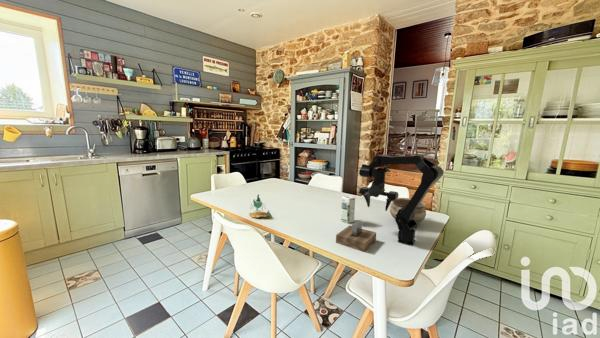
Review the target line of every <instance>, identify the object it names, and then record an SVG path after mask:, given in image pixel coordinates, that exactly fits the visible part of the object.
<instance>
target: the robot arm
mask: <svg viewBox="0 0 600 338" xmlns="http://www.w3.org/2000/svg"><path fill="white" fill-rule="evenodd" d="M413 164H414V165H415V166H416V167H417V169H418V170H419V172H421V173H422V176H421V177H420V178H421V180H420V183H419V185H418V187H417V189H416V190H415V191H414V193H413V195H412V196H411V198H410V199H411V200H410V201H409V203H408V205H407V206H406V207H403V208H401V209H399V211H398V213H397V214H396V215H395V216H396V218H394V221H395V223H396V224H397V228H398V232H397V233H398V234H397V239H398V240H397V242H398V243H401V244H403V245H404V244H405V245H408V246H413V245H414V244H415V242H416V239H415V237H416V229H417V228H418V223H416V222H415V220H414V216H415V211H416V209H417V208H418V206H419V205H420V203H421V201H422V202H423V200H424V198H425V197H426V195H427V194H428V192H429V191H430V189H431V188H432V187H433V186H434V185H435V184H436V183H437V182H438V181H439V180H441V178H442V177H443V176H444V173H445V172H444V169H443V168H442V167H441V166H439V165H436V164H435V163H434V162H432V161H430V160H429V159H427V157H425V156H424V155H422V154H416V155H399V156H397V155H395V156H393V155H389V154H377V155H374V157H372V160H371V162H370V163H369V164H366V163H363V164H362V165H361V167H360V168H359V170H358V174H359V176H360V177H362V178H368V179H372V182H371V186H369V187H368V186H367V187H366V186H362V187H360V188H359V190H358V193H359V194H361V196H362V197H364V199H365V203H366V205H367V208H370V206H371V197H374V198H378V197H379V196H383V197H386V198H385V201H386V204H385V212H387V211H388V209H389V208H390V206H391V204H392V201H393V200H396V199H397V198H399V192H397V191H393V190H390V191H388V192H386V189H385V186H386V185H385V184H386V173H388V172H390V171H391V170H390V168H389V167H387V166H391V165H413Z"/></svg>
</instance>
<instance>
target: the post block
mask: <svg viewBox="0 0 600 338" xmlns="http://www.w3.org/2000/svg"><path fill="white" fill-rule="evenodd" d="M351 234H352V225H347V227H345V228H344V229H342V230H341V231H339V232H338V233H336V235H335V243H336V244H339V245H342V246H345V247H347V248H351V249H355V250H358V251H361V252H363V253H365V252H366V251H367V250H368V249H369V248H370V247H371V246H372V245H373V244H374V243H375V241H377V232H376V231H372V230H368V229H364V228H362V233H361V234H360V235H359V236H358V237H354V236H351Z"/></svg>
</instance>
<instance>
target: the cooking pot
mask: <svg viewBox="0 0 600 338" xmlns="http://www.w3.org/2000/svg"><path fill="white" fill-rule="evenodd" d="M410 200H411V198H409V197H398V198H397V199H396V200H393V201H392V202H391V203H390V205H389V213H390V215H391V216H392V217H393V219H395V218H396V216H395V215H396V214H397V213H398V211H399V209H401V208H403V207H406V206H407V205H408V203H409V201H410ZM426 216H427V211H426V203H425V202H423V200H422V201H421V203H420V205H419V206H418V208H417V209H416V211H415V216H414V220H415V222H416V223H417V224H418V223H421V222H423V221H424V219H425V218H426Z"/></svg>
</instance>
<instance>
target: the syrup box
mask: <svg viewBox="0 0 600 338" xmlns="http://www.w3.org/2000/svg"><path fill="white" fill-rule="evenodd" d="M355 208H356V197H354V196H350V195H344V196H342V197H341V210H340V221H341V222H343V223H346V224H350V223H353V222H355V213H356V212H355Z"/></svg>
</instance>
